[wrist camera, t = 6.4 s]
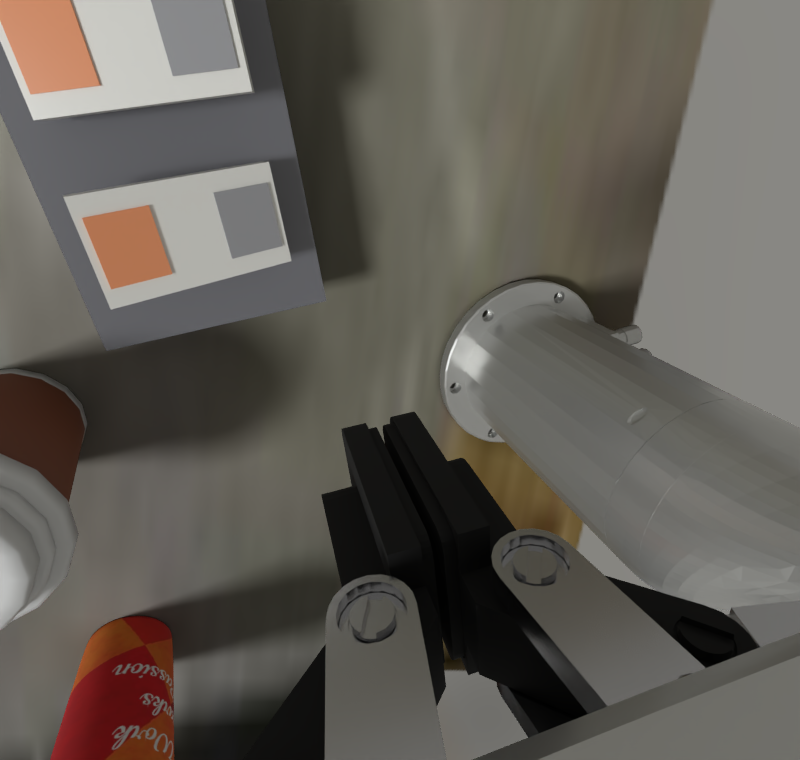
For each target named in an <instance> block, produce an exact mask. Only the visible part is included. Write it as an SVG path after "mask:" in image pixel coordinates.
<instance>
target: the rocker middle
mask: <svg viewBox="0 0 800 760" xmlns="http://www.w3.org/2000/svg"><path fill="white" fill-rule="evenodd" d="M0 42H1V44H2V47H3V49H4V51H5V54H6V56H7V58H8V61H9V63H10V66H11V68H12V70H13V73H14V75H15V77H16V80H17V82H18V85H19V87H20V89H21V92H22V94H23V97H24V99H25V101H26V104H27V106H28V108H29V111H30V113H31V116H32V118H33V120H55V119H63V118H70V117H78V116H85V115H93V114H100V113H108V112H115V111H123V110H130V109H138V108H145V107H153V106H160V105H168V104H175V103H183V102H190V101H198V100H205V99H213V98H220V97H228V96H235V95H243V94H250V93H255V92H254V88H253V84H252V79H251V75H250V70H249V66H248V62H247V57H246V53H245V48H244V44H243V40H242V35H241V31H240V26H239V22H238V18H237V13H236V9H235V4H234V0H0Z"/></svg>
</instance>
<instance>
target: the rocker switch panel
mask: <svg viewBox="0 0 800 760" xmlns="http://www.w3.org/2000/svg"><path fill="white" fill-rule="evenodd" d="M234 4H235V9H236V13H237V18H238V22H239V26H240V31H241V35H242V40H243V44H244V48H245V53H246V57H247V62H248V66H249V70H250V75H251V79H252V84H253V88H254V92H255V93H250V94H243V95H235V96H228V97H220V98H213V99H205V100H198V101H190V102H183V103H175V104H168V105H160V106H153V107H145V108H138V109H130V110H123V111H115V112H108V113H100V114H93V115H85V116H78V117H70V118H63V119H55V120H33V118H32V116H31V113H30V111H29V108H28V106H27V104H26V101H25V99H24V97H23V94H22V92H21V89H20V87H19V85H18V82H17V80H16V77H15V75H14V73H13V70H12V68H11V66H10V63H9V61H8V58H7V56H6V54H5V51H4V49H3V47H2V44H1V42H0V113H1V116H2V118H3V120H4V122H5V125H6V127H7V129H8V131H9V134H10V136H11V138H12V140H13V143H14V145H15V147H16V149H17V152H18V154H19V156H20V158H21V161H22V163H23V165H24V167H25V170H26V172H27V174H28V176H29V179H30V181H31V183H32V185H33V188H34V190H35V192H36V194H37V197H38V199H39V201H40V203H41V206H42V208H43V210H44V212H45V215H46V217H47V219H48V221H49V224H50V226H51V228H52V230H53V233H54V235H55V237H56V239H57V242H58V244H59V246H60V248H61V251H62V253H63V255H64V257H65V259H66V262H67V264H68V266H69V268H70V271H71V273H72V275H73V277H74V280H75V282H76V284H77V286H78V289H79V291H80V293H81V295H82V298H83V300H84V302H85V304H86V307H87V309H88V311H89V313H90V316H91V318H92V320H93V322H94V325H95V327H96V329H97V331H98V334H99V336H100V338H101V340H102V343H103V345H104V347H105V349H106V351H109V350H113V349H118V348H122V347H126V346H131V345H135V344H140V343H144V342H148V341H153V340H157V339H161V338H166V337H170V336H175V335H179V334H183V333H188V332H192V331H196V330H201V329H205V328H210V327H214V326H218V325H223V324H227V323H231V322H236V321H240V320H244V319H249V318H253V317H258V316H262V315H266V314H271V313H275V312H279V311H284V310H288V309H293V308H297V307H301V306H306V305H310V304H314V303H319V302H323V301H326V297H325V292H324V287H323V282H322V277H321V272H320V267H319V262H318V257H317V252H316V247H315V242H314V237H313V233H312V228H311V223H310V218H309V213H308V208H307V203H306V198H305V193H304V188H303V183H302V178H301V173H300V168H299V164H298V159H297V154H296V149H295V144H294V139H293V134H292V129H291V124H290V119H289V114H288V109H287V104H286V99H285V95H284V90H283V85H282V80H281V75H280V70H279V65H278V60H277V55H276V50H275V45H274V40H273V35H272V30H271V26H270V21H269V16H268V11H267V6H266V1H265V0H234ZM255 162H269V164H270V169H271V173H272V178H273V182H274V186H275V191H276V195H277V199H278V204H279V208H280V213H281V217H282V221H283V226H284V230H285V234H286V239H287V243H288V248H289V252H290V256H291V261H290V262H286V263H282V264H279V265H275V266H271V267H268V268H264V269H260V270H256V271H253V272H249V273H245V274H242V275H238V276H234V277H230V278H227V279H223V280H219V281H216V282H212V283H208V284H204V285H201V286H197V287H193V288H190V289H186V290H182V291H179V292H175V293H171V294H167V295H164V296H160V297H156V298H153V299H149V300H145V301H141V302H138V303H134V304H130V305H127V306H123V307H119V308H115V309H112V310H111V309H110V307H109V304H108V302H107V300H106V297H105V295H104V293H103V290H102V288H101V285H100V283H99V281H98V278H97V276H96V274H95V271H94V269H93V266H92V264H91V262H90V259H89V257H88V255H87V252H86V250H85V247H84V245H83V243H82V240H81V238H80V236H79V233H78V231H77V229H76V226H75V224H74V221H73V219H72V217H71V214H70V212H69V210H68V207H67V205H66V202H65V200H64V198H63V195H68V194H73V193H79V192H85V191H91V190H97V189H103V188H109V187H114V186H120V185H126V184H132V183H138V182H144V181H149V180H155V179H161V178H167V177H173V176H179V175H185V174H190V173H196V172H202V171H208V170H214V169H220V168H225V167H231V166H237V165H243V164H249V163H255Z"/></svg>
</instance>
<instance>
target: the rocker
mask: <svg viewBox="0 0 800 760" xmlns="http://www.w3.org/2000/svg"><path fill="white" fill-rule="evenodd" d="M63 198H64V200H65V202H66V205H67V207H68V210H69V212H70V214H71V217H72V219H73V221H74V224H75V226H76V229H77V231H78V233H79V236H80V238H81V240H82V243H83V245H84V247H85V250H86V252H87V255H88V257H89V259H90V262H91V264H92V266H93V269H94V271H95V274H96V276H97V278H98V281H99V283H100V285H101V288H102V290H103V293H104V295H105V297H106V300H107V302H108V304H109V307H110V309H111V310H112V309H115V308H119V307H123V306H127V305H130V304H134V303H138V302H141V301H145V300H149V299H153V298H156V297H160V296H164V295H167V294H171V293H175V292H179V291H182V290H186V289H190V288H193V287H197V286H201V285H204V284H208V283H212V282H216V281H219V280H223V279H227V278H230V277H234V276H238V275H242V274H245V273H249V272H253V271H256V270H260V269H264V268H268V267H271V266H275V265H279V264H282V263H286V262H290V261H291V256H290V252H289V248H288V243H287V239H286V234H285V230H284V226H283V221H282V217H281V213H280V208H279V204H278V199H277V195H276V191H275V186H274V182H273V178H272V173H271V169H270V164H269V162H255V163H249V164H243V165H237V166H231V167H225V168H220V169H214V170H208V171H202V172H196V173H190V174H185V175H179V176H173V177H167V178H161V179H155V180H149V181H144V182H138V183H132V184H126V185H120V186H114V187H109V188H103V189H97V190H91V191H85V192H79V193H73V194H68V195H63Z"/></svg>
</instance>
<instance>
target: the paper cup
mask: <svg viewBox="0 0 800 760" xmlns="http://www.w3.org/2000/svg"><path fill="white" fill-rule="evenodd" d="M50 760H174V685H173V643H172V634H171V631H170V629H169V628H168V626H167V625H166V624H164V623H163V622H162V621H160V620H158V619H155V618H152V617H147V616H129V617H124V618H120V619H116V620H114V621H111V622H109V623H107V624H105V625H104V626H102V627H101V628H99V629H98V630H97V631H96V632H95V633H94V634H93V635H92V636H91V638H90V640H89V642H88V644H87V646H86V649H85V652H84V654H83V657H82V660H81V663H80V666H79V669H78V673H77V676H76V679H75V682H74V685H73V688H72V691H71V695H70V698H69V701H68V704H67V707H66V711H65V714H64V717H63V720H62V723H61V727H60V730H59V733H58V736H57V739H56V743H55V746H54V749H53V752H52V756H51V759H50Z"/></svg>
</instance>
